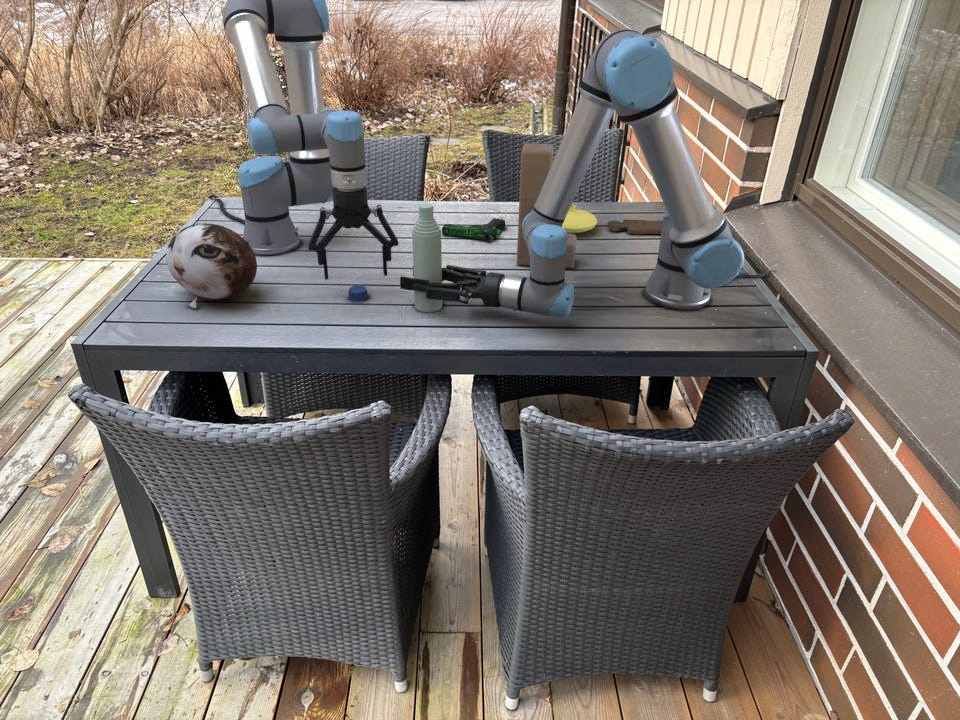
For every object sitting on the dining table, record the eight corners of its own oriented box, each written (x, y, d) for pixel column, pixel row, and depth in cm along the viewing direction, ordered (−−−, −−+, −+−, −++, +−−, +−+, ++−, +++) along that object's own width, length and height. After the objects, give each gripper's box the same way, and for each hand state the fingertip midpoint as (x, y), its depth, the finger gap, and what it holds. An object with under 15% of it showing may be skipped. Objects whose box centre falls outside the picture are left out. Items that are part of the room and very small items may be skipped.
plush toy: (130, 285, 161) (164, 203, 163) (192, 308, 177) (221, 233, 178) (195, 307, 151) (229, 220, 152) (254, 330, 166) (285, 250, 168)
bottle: (442, 312, 164) (440, 210, 151) (414, 312, 163) (410, 210, 151) (442, 299, 169) (440, 200, 157) (415, 300, 169) (411, 200, 157)
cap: (366, 292, 172) (365, 284, 171) (368, 300, 168) (367, 292, 167) (348, 294, 171) (347, 286, 170) (349, 302, 167) (349, 293, 166)
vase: (559, 216, 220) (561, 193, 217) (605, 227, 212) (608, 204, 209) (532, 230, 209) (533, 207, 206) (580, 242, 201) (582, 218, 198)
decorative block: (573, 269, 185) (584, 153, 170) (516, 265, 187) (521, 149, 171) (574, 258, 192) (584, 145, 176) (518, 254, 193) (523, 142, 178)
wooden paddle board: (699, 237, 207) (691, 225, 216) (700, 231, 206) (692, 220, 215) (610, 234, 207) (606, 222, 216) (611, 228, 207) (607, 217, 215)
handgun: (511, 219, 210) (493, 234, 198) (511, 228, 211) (492, 244, 199) (461, 212, 215) (440, 226, 203) (461, 221, 217) (440, 236, 204)
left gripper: (290, 194, 151) (301, 285, 162) (408, 189, 155) (411, 278, 166) (291, 183, 157) (301, 271, 168) (404, 179, 161) (407, 265, 172)
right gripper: (489, 325, 152) (390, 308, 158) (514, 289, 168) (423, 275, 174) (490, 293, 148) (388, 277, 154) (515, 259, 164) (423, 246, 170)
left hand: (356, 275), depth 167 cm, fingers open, 13 cm apart
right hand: (407, 276), depth 164 cm, fingers closed on bottle, 6 cm apart
